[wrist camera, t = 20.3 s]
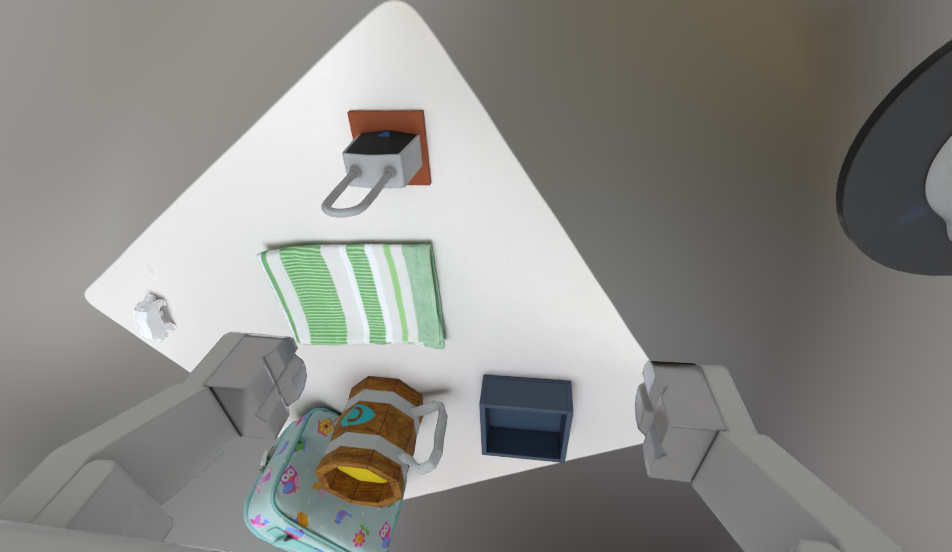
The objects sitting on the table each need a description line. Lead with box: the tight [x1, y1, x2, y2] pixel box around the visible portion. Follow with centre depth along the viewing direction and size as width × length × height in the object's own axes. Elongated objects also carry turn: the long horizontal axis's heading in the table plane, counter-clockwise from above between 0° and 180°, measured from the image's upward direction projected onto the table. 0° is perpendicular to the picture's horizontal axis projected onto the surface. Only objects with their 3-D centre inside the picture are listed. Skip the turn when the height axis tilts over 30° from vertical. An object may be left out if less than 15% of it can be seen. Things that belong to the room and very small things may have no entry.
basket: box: [480, 375, 573, 463], centre depth 67 cm, size 14×14×6 cm
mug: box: [314, 376, 448, 508], centre depth 66 cm, size 20×14×15 cm
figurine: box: [133, 294, 177, 342], centre depth 65 cm, size 2×8×5 cm, turn 172°
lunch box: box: [244, 408, 407, 552], centre depth 74 cm, size 27×10×21 cm, turn 39°
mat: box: [348, 111, 431, 185], centre depth 46 cm, size 8×8×1 cm
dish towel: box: [257, 244, 445, 349], centre depth 58 cm, size 18×23×3 cm
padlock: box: [322, 130, 423, 217], centre depth 39 cm, size 7×4×15 cm, turn 91°
